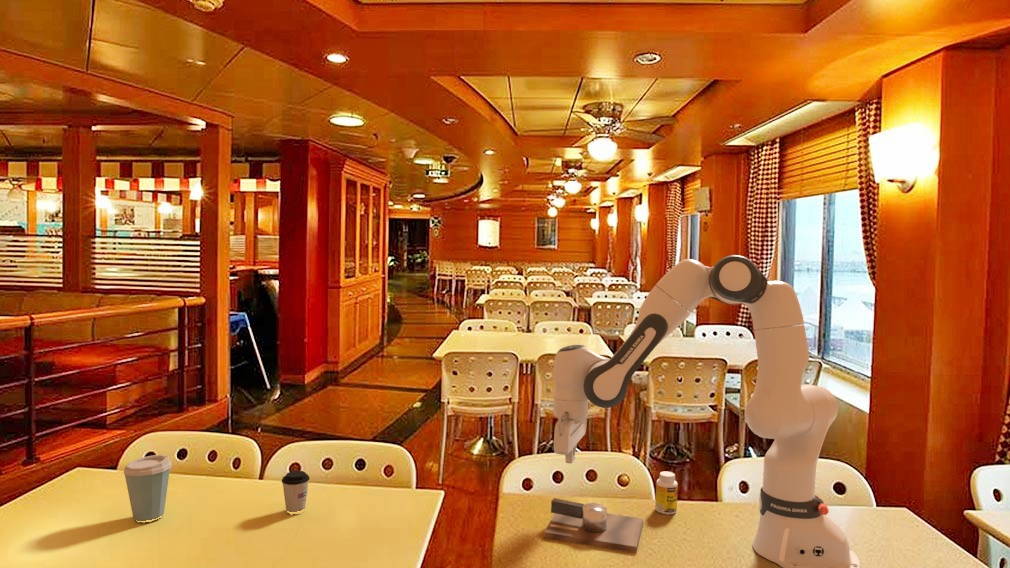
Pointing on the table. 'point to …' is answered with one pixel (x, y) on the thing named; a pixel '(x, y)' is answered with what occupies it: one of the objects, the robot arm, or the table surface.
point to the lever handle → (583, 513)
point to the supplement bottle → (666, 493)
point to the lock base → (616, 536)
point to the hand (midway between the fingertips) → (570, 461)
